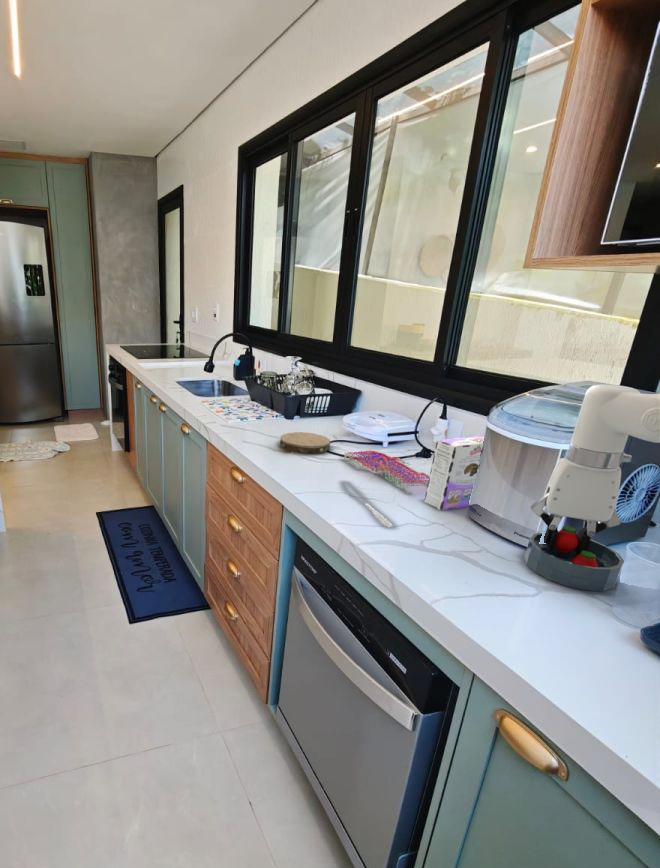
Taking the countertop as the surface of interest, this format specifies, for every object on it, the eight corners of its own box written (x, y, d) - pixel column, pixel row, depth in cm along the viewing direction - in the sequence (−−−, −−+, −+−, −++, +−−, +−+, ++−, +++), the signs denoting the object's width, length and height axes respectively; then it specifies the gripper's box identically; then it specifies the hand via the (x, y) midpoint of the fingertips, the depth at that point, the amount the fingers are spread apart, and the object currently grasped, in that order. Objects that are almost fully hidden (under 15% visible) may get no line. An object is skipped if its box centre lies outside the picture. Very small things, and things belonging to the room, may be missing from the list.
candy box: (465, 496, 128) (480, 434, 122) (484, 505, 123) (501, 441, 117) (422, 502, 124) (435, 438, 118) (440, 512, 119) (455, 445, 113)
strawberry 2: (591, 573, 93) (598, 551, 92) (596, 583, 90) (604, 561, 88) (565, 567, 95) (573, 546, 93) (569, 578, 92) (577, 556, 90)
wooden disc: (269, 445, 165) (270, 436, 164) (303, 438, 174) (304, 429, 173) (305, 458, 154) (306, 449, 152) (339, 450, 163) (340, 441, 161)
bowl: (601, 563, 98) (610, 540, 96) (625, 601, 86) (635, 576, 84) (519, 548, 103) (525, 526, 101) (530, 582, 91) (537, 557, 89)
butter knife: (382, 526, 109) (395, 525, 109) (338, 483, 134) (349, 482, 134) (381, 529, 109) (395, 528, 109) (338, 485, 134) (349, 484, 134)
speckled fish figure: (448, 494, 129) (452, 475, 127) (396, 498, 126) (400, 478, 124) (385, 458, 156) (387, 441, 154) (340, 460, 153) (342, 443, 151)
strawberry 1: (564, 544, 97) (571, 523, 95) (580, 554, 93) (588, 532, 92) (545, 545, 96) (551, 523, 95) (561, 555, 93) (568, 533, 91)
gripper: (643, 458, 88) (610, 550, 95) (534, 445, 94) (510, 532, 101) (659, 470, 82) (622, 568, 89) (541, 456, 88) (515, 548, 95)
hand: (563, 548), depth 95 cm, fingers closed on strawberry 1, 3 cm apart
